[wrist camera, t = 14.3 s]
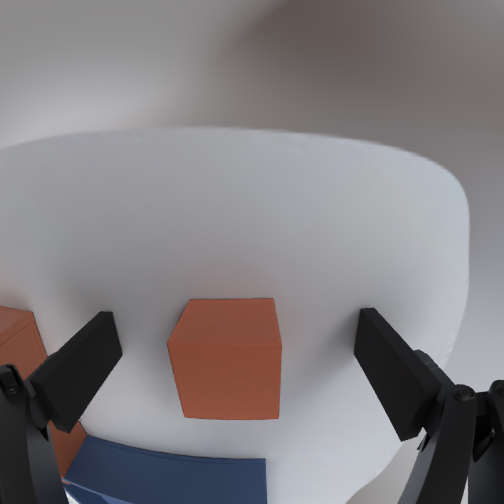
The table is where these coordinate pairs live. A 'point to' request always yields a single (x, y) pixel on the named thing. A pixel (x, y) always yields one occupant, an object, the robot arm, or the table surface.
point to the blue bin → (161, 477)
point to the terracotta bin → (27, 360)
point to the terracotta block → (227, 359)
